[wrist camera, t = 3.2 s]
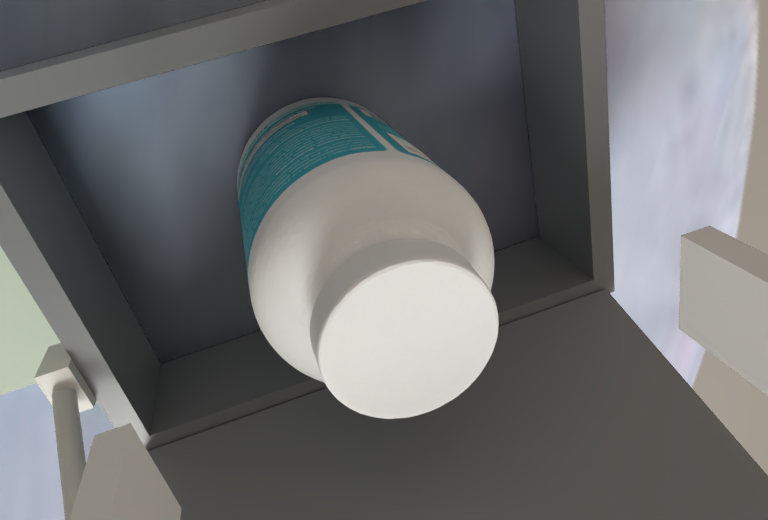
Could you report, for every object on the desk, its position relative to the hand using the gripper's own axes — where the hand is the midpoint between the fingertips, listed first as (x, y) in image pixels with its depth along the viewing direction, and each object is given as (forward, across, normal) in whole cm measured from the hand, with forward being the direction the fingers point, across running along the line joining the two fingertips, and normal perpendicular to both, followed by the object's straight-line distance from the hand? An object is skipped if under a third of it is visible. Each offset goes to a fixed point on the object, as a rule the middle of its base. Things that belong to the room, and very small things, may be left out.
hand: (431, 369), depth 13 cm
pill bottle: (+15, 0, 0) cm, 15 cm away
